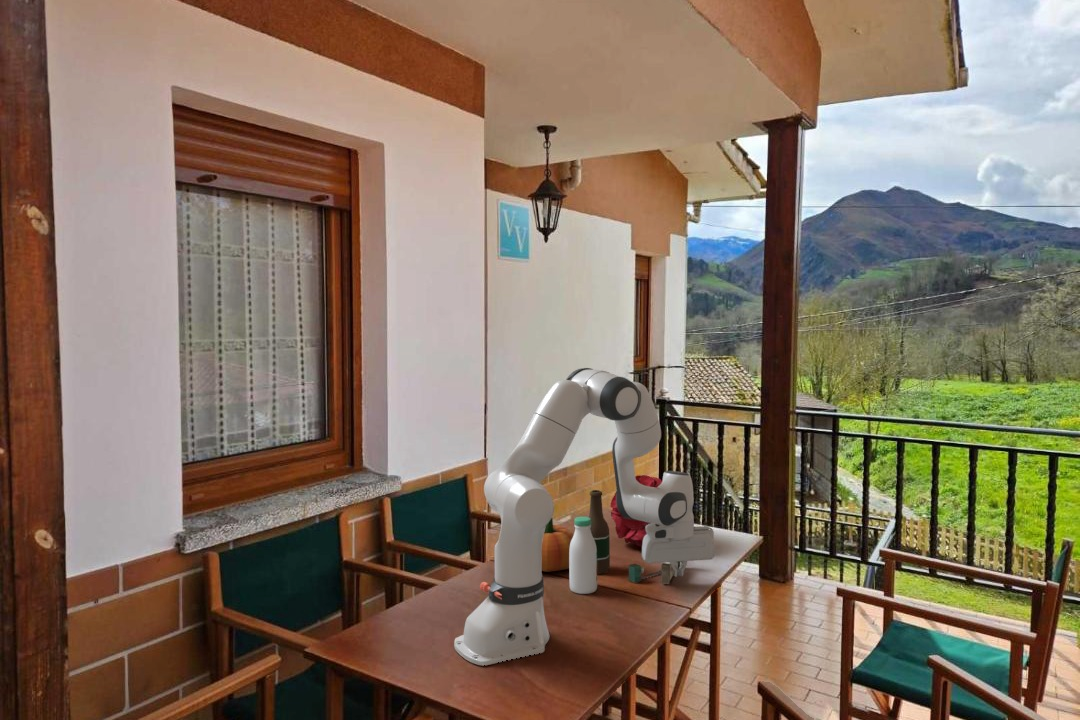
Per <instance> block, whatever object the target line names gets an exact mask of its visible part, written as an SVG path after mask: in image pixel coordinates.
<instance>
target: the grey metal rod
mask: <svg viewBox="0 0 1080 720" xmlns="http://www.w3.org/2000/svg"><path fill="white" fill-rule="evenodd" d="M657 574H660V575H661V570H658V571H656V572H653V573H650V574H645V575H641V579H643V580H646V579H645V578H647V577H650V576H653V577H655V576H654V575H657ZM657 576H658V575H657ZM650 578H651V577H650ZM647 579H648V578H647Z"/></svg>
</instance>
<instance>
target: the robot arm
mask: <svg viewBox="0 0 1080 720" xmlns="http://www.w3.org/2000/svg"><path fill="white" fill-rule="evenodd" d="M589 414H591V415H593V416H596V417H600V418H603V419H604V418H605V419H607V420H610V421H614V424H615V428H616V433H617V437H616V438H615V439H614V441H613V443H612V452H611V453H612V463H613V470H614V479H615V486H616V487H615V488H616V491H617V493H616V492H615V493H616V505H617V508H618V511H619V512H620V514H621V515H622V516H623V517H624V518H626V519H633V520H640V521H644V522H649V523H651V524H648V525H646V527H645V530H646V533H647V534H646V535H645V536H644V538H643V544H642V547H641V558H642V559H643V561H644V562H645V563H646V564H658V563H660V564H663V563H665V562H669V563H670V565H671V566H672V568H673V574H674V575H673V576H674V577H684V571H685V569H686V567H687V565H688V562H690V561H691V562H693V561H706V560H709V561H710V560H713V558H714V557H715V548H714V547H715V546H714V541H713V540H714V538H715V537H714V536H715V534H714V533H715V532H714V530H713V528H712V527H709V526H708V525H703V526H694V525H695V521H694V519H695V518H694V517H695V516H694V513H693V507H694V486H693V485H694V484H693V480H692V477H691V475H690V474H689V473H687V472H685V471H684V472H682V471H678V470H677V471H676V470H666V471H664V472H663V474H662V475H663V476H662V479H661V481H662V483H661V484H660V485H659V486H658V487H657V488H655V487H650V486H645V485H642V484H640V483H639V482H638V481H637V480H636V478H635V476H636V472H635V471H636V470H635V461H634V459H637V458H640V457H643V456H646V455H647V454H650V453H651V452H652V451H653V450H654V449H655V448H657V446H658V445H659V444H660V441H661V438H662V429H661V424H660V420H659V417H658V413H657V410H656V407H655V404H654V402H653V398H652V397H651V394H650V392H649V391H648V389H647V387H646V386H645V385H644V384H642V383H641V382H637V381H631V380H629V379H628V378H626V377H623V376H618V375H616V374H613V373H611V372H609V371H605V370H603V369H601V370H600V369H594V368H590V367H583V368H577V369H575V370H573V371H572V372H571V373H570V374H569V375H568V376H567V378H566V379H560V380H557V381H556V382H555V383H554V384H552V386H551V387H550V388H549V389H548V391H547V392H546V393H545V395H544V397H543V398H542V400H540V402H539V405H538V406H537V407H536V410H535V412H534V413H533V415H532V417H531V419H530V421H529V423H528V424H527V427H526V429H525V431H524V432H523V434H522V435H521V438H520V440H519V441H518V442H517V445H516V446H515V447H514V449H513V450H512V451H511V452H510V454H509V455H508V456H507V458H505V460H503V462H502V463H501V465H500V466H499V467H498V468H497V469H495V470H494V471H492V472H490V474H489V475H488V477H486V479H485V482H484V485H483V492H484V497H485V500H486V501H487V504H488V505H489V506H490V508H491V509H492V510H493V511H494V512H496V513H497V514H498V515H499V516H500V521H501V522H500V523H501V525H500V531H499V536H498V539H497V540H498V541H497V542H496V543H495V545H494V549H493V551H494V552H493V553H494V578H493V580H492V583H491V584H489V583H488V582H486V581H483V582H481V583H480V585H479V589H480V590H481V591H483V592H484V593H488V596H487V597H486V598H485V599H484V600H483V601H482V602H481V604H479V605H478V606H477V607H476V608H475V609H474V610H473V611H472V612H471V613H470V614H469V615H468V616H467V618H466V619H465V623H464V628H463V634H462V635H459V636H458V637H455V639H454V642H453V646H454V650H455V651H456V652H457V654H459V655H460V657H462V658H464V659H465V660H466V661H468V662H470V663H471V664H475V665H478V666H482V667H485V666H488V665H495V664H497V663H498V662H499V663H503V662H507V661H506V660H508V661H512V660H511V659H513V660H517V659H520V657H522V658H526V657H530V656H529V655H531V656H534V654H535V655H539V653H540V654H543V653H545V650H546V648H545V647H546V644H547V643H548V642H549V640H550V633H549V629H548V626H547V621H546V617H545V609H544V599H543V598H544V594H545V582H544V576H543V573H542V572H543V571H542V541H543V536H544V532H545V527H546V525H547V524H548V522H549V521H550V520H551V518H553V515H554V511H555V503H554V499H553V497H552V496H551V494H550V493H549V491H548V490H547V488H546V487H545V486H544V485H543V484H542V482H543V480H544V479H545V478H546V477H547V475H548V474H549V473H550V472H552V471H553V470H554V469H555V468H557V467H559V466H560V465H561V464H562V463H563V461H564V458H565V456H566V455H567V452H568V451H569V448H570V446H571V445H572V443H573V442H574V441H573V440H574V439H575V437H576V435H577V433H578V430H579V429H580V427H581V424H582V422H583V419H584V418H585V417H586V416H587V415H589ZM678 561H680V567H679V568H675V566H674V565H676V562H678ZM525 656H526V657H525ZM516 658H517V659H516ZM502 661H503V662H502ZM499 663H498V664H499ZM484 665H485V666H484Z"/></svg>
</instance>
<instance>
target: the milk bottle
mask: <svg viewBox="0 0 1080 720" xmlns="http://www.w3.org/2000/svg"><path fill="white" fill-rule="evenodd" d="M574 527H575V529H574V532H573V534H574V536H573V538H572V540H571V543H570V549H569V568H568V570H569V573H568V574H569V575H568V576H569V579H568V580H569V589H570V591H571V592H573V593H575V594H579V595H585V594H586V595H587V594H593V593H594V592H596V591H597V589H598V575H597V548H596V543H595V541H594V538H593V536H592V534H591V530H590V527H591V519H590V518H589V516H576V517H575V518H574Z"/></svg>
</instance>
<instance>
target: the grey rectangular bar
mask: <svg viewBox="0 0 1080 720" xmlns="http://www.w3.org/2000/svg"><path fill="white" fill-rule="evenodd" d="M660 565H661V569H660V571H661V574H660V575H661V576H660V577H661V581H660V582H661V584H662V585H663V584H664V585H669V584H670V583H671V579H672V578H673V576H674V574H673V568H672V566H671V565H670V563H669V562H662V563H661V564H660ZM674 566H675V568H678V562H676V565H674Z"/></svg>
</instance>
